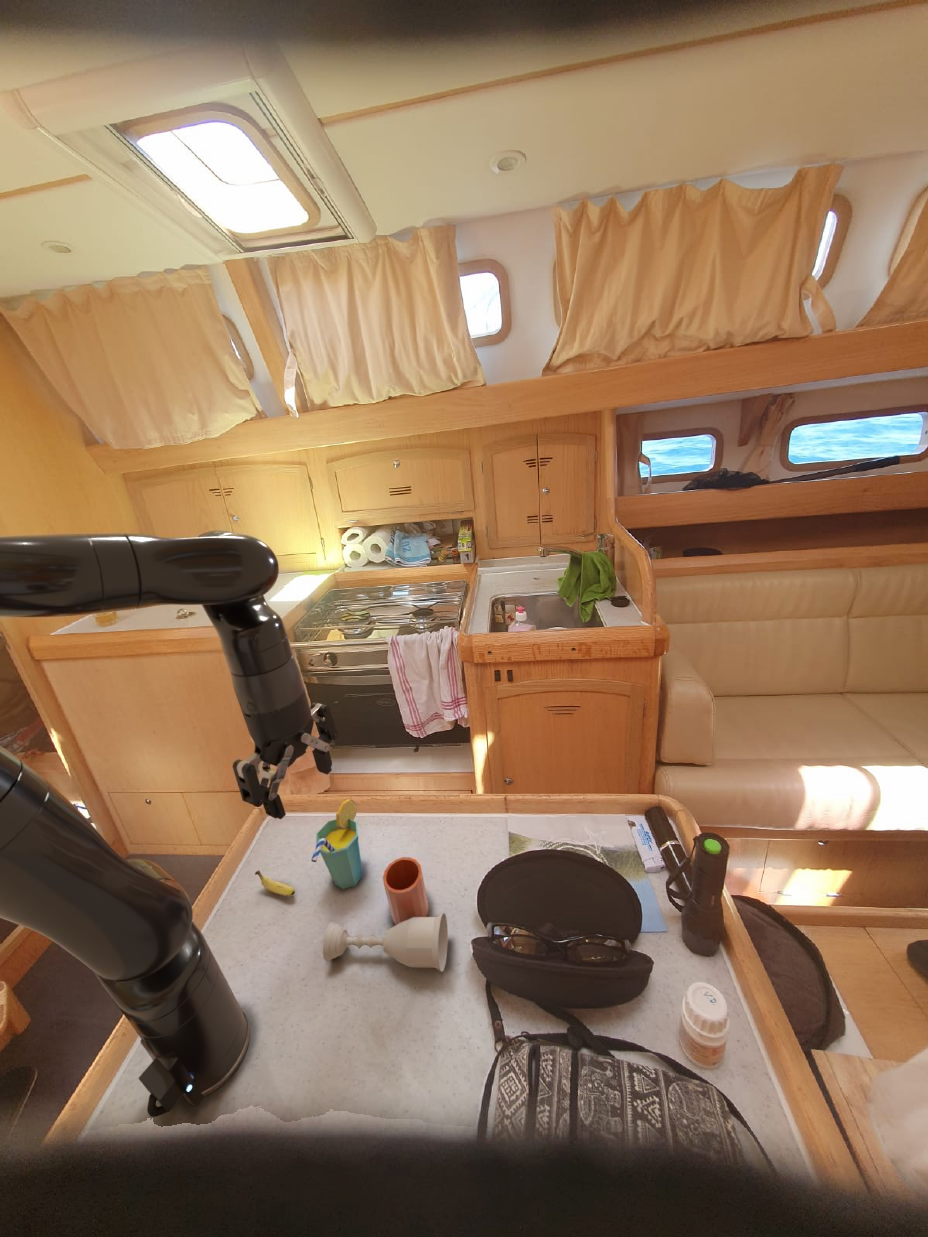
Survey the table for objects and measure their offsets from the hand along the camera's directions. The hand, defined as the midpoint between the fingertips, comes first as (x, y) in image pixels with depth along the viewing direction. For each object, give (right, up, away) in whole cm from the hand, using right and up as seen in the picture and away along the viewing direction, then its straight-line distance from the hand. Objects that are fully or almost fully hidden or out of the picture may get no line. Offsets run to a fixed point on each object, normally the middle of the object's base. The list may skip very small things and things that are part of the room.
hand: (303, 792), depth 62 cm
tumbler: (+13, -25, +14) cm, 32 cm away
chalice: (+1, -26, +8) cm, 28 cm away
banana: (-11, -26, +20) cm, 34 cm away
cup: (+1, -24, +20) cm, 32 cm away
